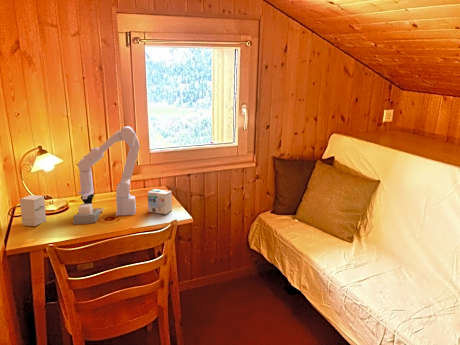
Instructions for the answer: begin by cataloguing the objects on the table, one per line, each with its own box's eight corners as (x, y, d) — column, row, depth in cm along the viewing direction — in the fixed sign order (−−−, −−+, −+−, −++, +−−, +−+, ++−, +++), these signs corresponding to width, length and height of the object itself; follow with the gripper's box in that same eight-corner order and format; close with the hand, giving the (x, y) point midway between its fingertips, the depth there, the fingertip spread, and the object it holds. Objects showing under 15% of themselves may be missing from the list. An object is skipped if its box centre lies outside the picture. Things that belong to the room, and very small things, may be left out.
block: (82, 215, 179) (81, 203, 178) (92, 215, 180) (91, 203, 178) (79, 219, 174) (78, 207, 173) (90, 218, 175) (89, 206, 174)
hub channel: (100, 213, 185) (99, 206, 185) (95, 223, 172) (95, 214, 171) (79, 214, 184) (78, 207, 183) (73, 224, 170) (72, 216, 169)
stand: (104, 209, 192) (104, 207, 192) (102, 212, 187) (102, 211, 186) (92, 209, 191) (92, 208, 191) (90, 213, 186) (90, 212, 185)
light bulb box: (147, 211, 189) (147, 191, 187) (154, 208, 195) (154, 188, 193) (166, 214, 185) (165, 193, 183) (172, 210, 191) (172, 190, 189)
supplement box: (36, 226, 167) (33, 199, 165) (21, 225, 169) (18, 198, 166) (47, 221, 174) (44, 195, 172) (33, 219, 176) (30, 194, 173)
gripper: (80, 179, 185) (83, 205, 188) (74, 186, 171) (77, 214, 174) (95, 179, 187) (97, 204, 189) (90, 186, 173) (92, 213, 176)
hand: (88, 209), depth 182 cm, fingers closed
